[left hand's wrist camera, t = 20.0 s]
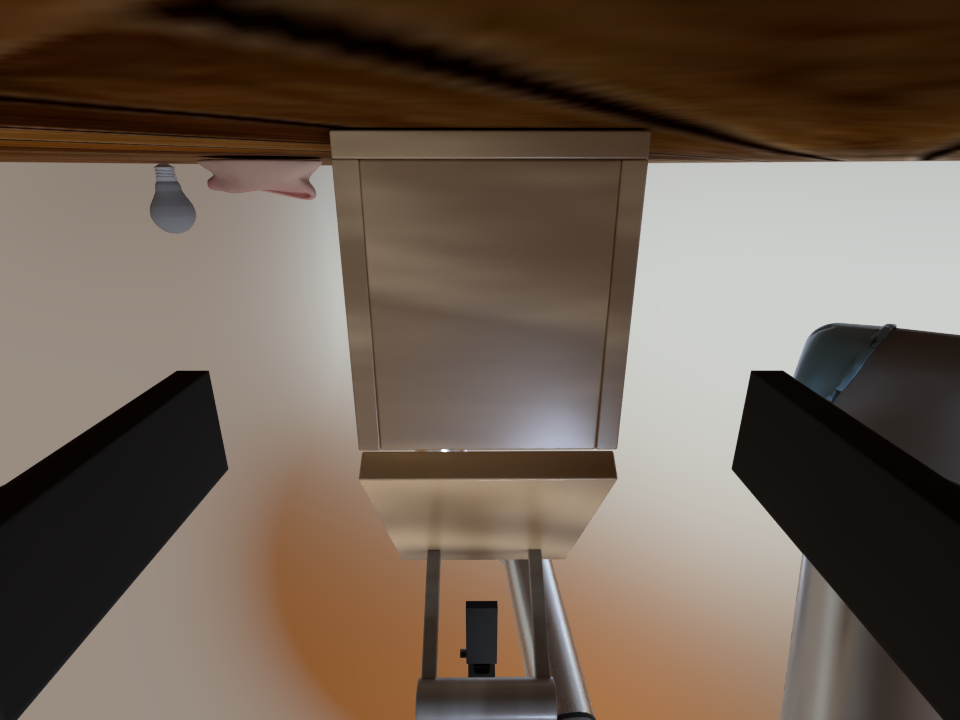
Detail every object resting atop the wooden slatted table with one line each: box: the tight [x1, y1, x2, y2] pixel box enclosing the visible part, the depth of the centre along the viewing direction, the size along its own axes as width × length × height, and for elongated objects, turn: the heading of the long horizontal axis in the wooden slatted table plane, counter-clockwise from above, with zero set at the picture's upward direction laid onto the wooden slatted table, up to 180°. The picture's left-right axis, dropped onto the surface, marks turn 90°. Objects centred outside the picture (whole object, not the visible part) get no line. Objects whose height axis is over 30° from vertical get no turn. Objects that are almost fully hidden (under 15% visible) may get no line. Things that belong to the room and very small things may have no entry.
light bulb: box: [150, 164, 196, 234], centre depth 77 cm, size 6×6×10 cm
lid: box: [359, 451, 617, 720], centre depth 23 cm, size 14×10×9 cm
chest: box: [329, 130, 651, 450], centre depth 23 cm, size 13×10×11 cm
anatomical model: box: [197, 159, 322, 200], centre depth 50 cm, size 13×4×12 cm
